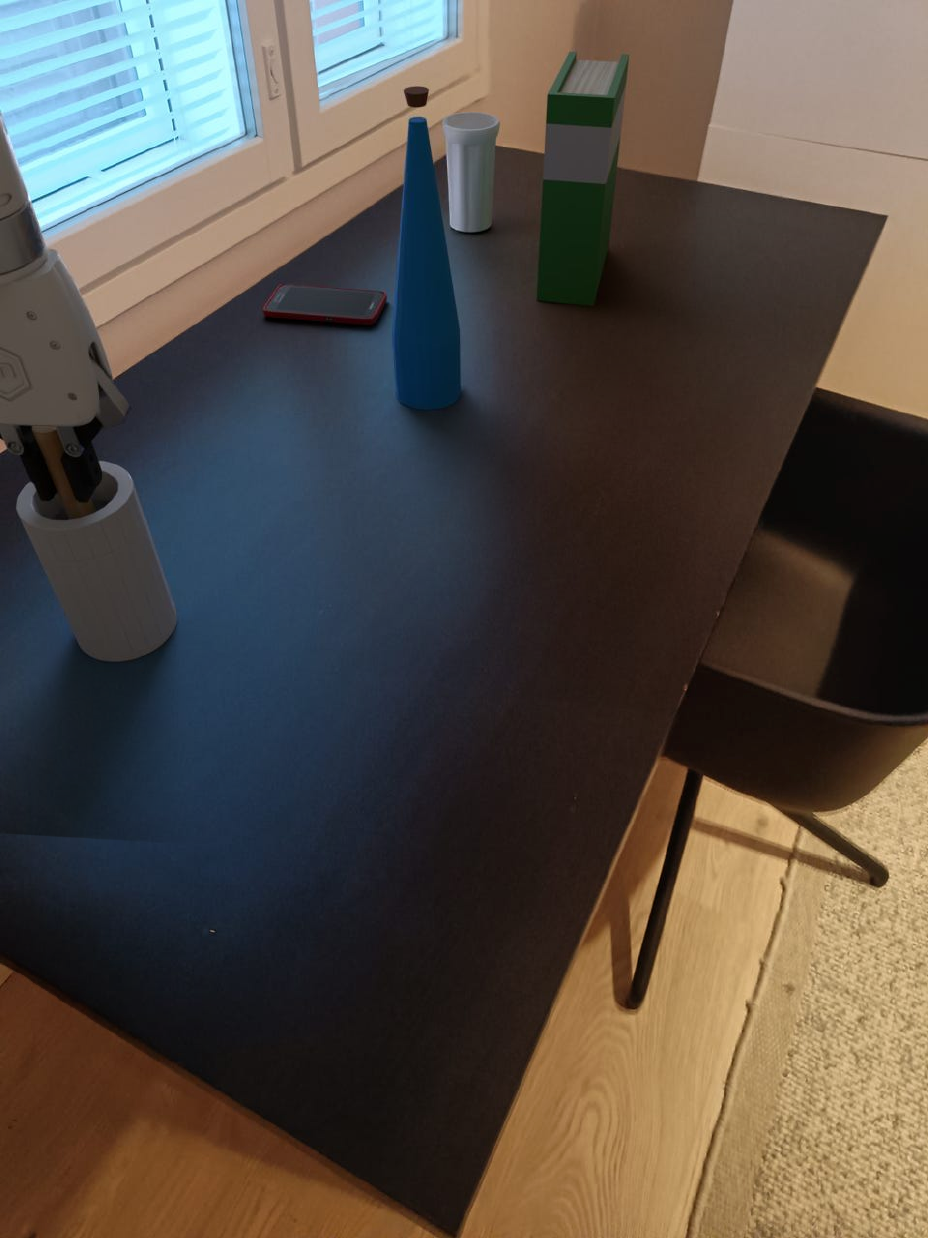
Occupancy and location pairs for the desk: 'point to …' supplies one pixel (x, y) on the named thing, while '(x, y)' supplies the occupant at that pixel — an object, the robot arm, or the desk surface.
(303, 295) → the cell phone
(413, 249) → the bottle
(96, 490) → the grey hollow tube
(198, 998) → the desk surface
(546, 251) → the hardback book
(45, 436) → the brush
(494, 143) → the cup
